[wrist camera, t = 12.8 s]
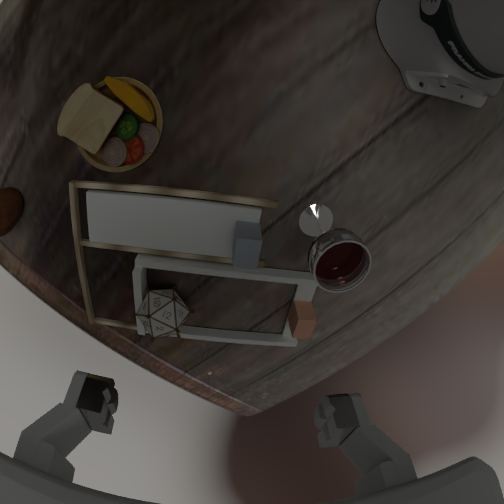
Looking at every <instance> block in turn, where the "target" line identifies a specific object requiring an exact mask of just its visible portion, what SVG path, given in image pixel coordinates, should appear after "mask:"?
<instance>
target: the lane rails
mask: <svg viewBox="0 0 504 504" xmlns="http://www.w3.org/2000/svg"><path fill="white" fill-rule="evenodd" d="M78 188H92V189H106V190H119V191H131V192H142V193H153V194H163V195H173V196H183V197H192V198H201V199H209V200H218V201H226V202H234V203H241V204H249V205H256V206H264V207H271V208H277V206H278V201H275V200H268V199H261V198H254V197H246V196H239V195H231V194H223V193H215V192H207V191H198V190H189V189H179V188H170V187H159V186H149V185H137V184H125V183H111V182H96V181H79V180H72V181H71V182H69V192H70V206H71V218H72V228H73V236H74V244H75V251H76V258H77V265H78V271H79V276H80V282H81V287H82V292H83V297H84V302H85V307H86V311H87V316H88V320H89V324H94V323H100V324H105V325H111V326H116V327H122V328H128V329H134V330H137V324H134V323H128V322H122V321H116V320H110V319H104V318H99V317H95V316H94V312H93V307H92V302H91V297H90V291H89V286H88V280H87V274H86V267H85V260H84V253H83V246H90V247H98V248H105V249H113V250H121V251H129V252H137V253H146V254H154V255H162V256H170V257H179V258H187V259H196V260H205V261H213V262H222V263H231V264H233V258H226V257H217V256H209V255H200V254H191V253H183V252H174V251H166V250H157V249H149V248H141V247H132V246H124V245H116V244H108V243H99V242H91V241H90V240H89V239H82V236H81V227H80V215H79V201H78ZM264 265H265V260H261V259H259V261H258V267H264Z"/></svg>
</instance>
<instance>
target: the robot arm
mask: <svg viewBox="0 0 504 504" xmlns="http://www.w3.org/2000/svg"><path fill="white" fill-rule="evenodd" d="M376 23H377V29H378V33H379V36H380V39H381V42H382V44H383V46H384V48H385V49H386V51H387V53H388V54H389V56H390V57H391V58H392V60H393V61H394V62H395V63H396V65H397V66H398V67H399V69H400V71H401V75H402V78H403V80H404V83H405V85H406V87H407V88H408V89H409V90H410V91H413V92H417V93H422V94H426V95H431V96H435V97H439V98H443V99H447V100H450V101H454V102H457V103H461V104H464V105H468V106H471V107H474V108H481V107H482V106H483V105H484V103H485V102H486V100H487V98H488V96H490V97H494V96H496V95H497V94H498V93H499V91H500V89H501V87H502V84H503V80H504V0H381V1H380V3H379V5H378V9H377V14H376ZM420 82H421V87H420V85H419V83H420ZM114 385H115V382H114V380H113V379H112V378H107V377H102V376H98V375H93V374H90V373H86V372H81V371H76V372H75V374H74V376H73V378H72V381H71V384H70V386H69V389H68V392H67V394H66V397H65V400H64V403H63V404H62V403H59V404H58V405H57V406H55V407H54V408H53V409H51V410H50V411H48V412H47V413H46V414H44V415H43V416H42V417H40V418H39V419H38V420H36V421H35V422H34V423H33V424H31V425H30V426H28V427H27V428H26V429H24V430H23V431H22V432H21V435H20V438H19V441H18V444H17V447H16V451H15V453H14V457H13V458H11V457H9V456H7V455H5V454H3V453H1V452H0V504H159V503H152V502H146V501H141V500H136V499H130V498H126V497H121V496H117V495H112V494H109V493H105V492H101V491H97V490H94V489H91V488H87V487H83V486H81V485H78V484H74V483H72V481H73V476H74V471H75V468H74V467H73V465H72V464H71V463H69V461H68V460H67V459H66V458H65V457H66V456H67V455H68V454H69V453H70V452H71V451H72V450H73V449H74V448H75V447H76V446H77V445H78V444H79V443H80V442H81V441H82V440H83V439H84V438H85V437H86V436H87V435H88V434H89V433H90V432H91V430H94V431H98V432H102V433H107V434H111V433H112V428H113V423H114V419H113V416H112V414H114V413H115V412H116V411H117V406H118V393H117V390H116V389H115V388H114ZM314 421H315V425H316V426H317V427H318V428H319V429H320V430H319V432H318V434H317V435H318V440H319V445H320V448H322V447H334V446H339V448H340V449H341V450H342V452H343V453H344V454H345V455H346V456H347V457H348V458H349V460H350V461H351V462H352V463H353V464H354V465H355V466H356V467H357V468H358V470H359V471H360V472H361V473H362V474H363V475H364V476H362V477H361V478H359V479H358V480H357V481H356V482H355V483H354V487H355V492H356V497H352V498H347V499H343V500H337V501H331V502H325V503H319V504H504V498H503V494H502V491H501V487H500V484H499V481H498V478H497V475H496V473H495V471H494V470H493V468H492V467H490V466H489V465H487V464H486V463H485V462H483V461H482V460H481V459H479V458H477V457H469V458H467V459H465V460H462V461H460V462H458V463H456V464H454V465H451V466H449V467H447V468H444V469H442V470H440V471H437V472H435V473H432V474H430V475H427V476H424V477H422V478H419V479H417V476H416V472H415V469H414V467H413V464H412V461H411V458H410V455H409V454H408V453H407V452H406V451H404V450H403V449H402V448H401V447H400V446H398V445H397V444H396V443H395V442H394V441H393V440H392V439H390V438H389V437H388V436H387V435H386V434H385V433H383V432H382V431H381V430H380V429H379V428H378V427H377V426H375V425H371V422H370V419H369V416H368V413H367V410H366V408H365V405H364V402H363V399H362V396H361V395H360V393H350V394H336V395H335V394H334V395H325V396H323V398H322V403H321V404H319V405H318V406H317V407H316V409H315V414H314Z"/></svg>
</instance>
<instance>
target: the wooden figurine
mask: <svg viewBox="0 0 504 504" xmlns="http://www.w3.org/2000/svg"><path fill="white" fill-rule="evenodd" d="M23 207H24V206H23V198H22V196H21V194H20V193H19V192H18V191H17V190H16V189H12V188H4V189H1V190H0V237H1V236H4V235H6V234H7V233H9V232H10V231H11V230H12V228H13V227H14V226H15V224H16V223H17V221H18V219H19V218H20V216H21V214H22V212H23Z"/></svg>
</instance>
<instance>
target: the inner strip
mask: <svg viewBox="0 0 504 504" xmlns="http://www.w3.org/2000/svg"><path fill="white" fill-rule="evenodd" d="M86 200H87V216H88V229H89V240H90V241H91V242H99V243H108V244H116V245H124V246H132V247H141V248H149V249H157V250H166V251H174V252H183V253H191V254H200V255H209V256H217V257H226V258H233V267H239V268H248V269H257V266H258V261H259V257H260V252H261V247H262V242H263V240H262V235H261V229H260V224H259V222H260V217H261V212H262V209H261V208H260V207H253V206H245V205H237V204H229V203H221V202H213V201H205V200H196V199H187V198H178V197H168V196H158V195H148V194H137V193H125V192H113V191H100V190H88V191H87V192H86Z"/></svg>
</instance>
